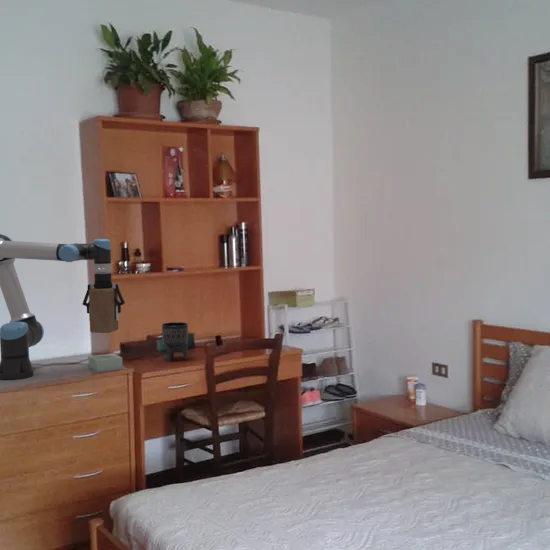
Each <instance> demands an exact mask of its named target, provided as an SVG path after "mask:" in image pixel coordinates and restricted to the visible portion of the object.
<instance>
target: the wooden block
mask: <svg viewBox="0 0 550 550" xmlns="http://www.w3.org/2000/svg"><path fill="white" fill-rule="evenodd" d="M114 296H115V297H116V298H117V299H118V300H119V296H118V294H117V292H116V289H115V288H114V287H112V288H106V289H105V288H101V289H97V288H94V287H93V288H92V289H90V290H89V297H88V302H89V305H90V321H89V329H90V332H91V333H94V334H95V333H96V334H111V333H114V332H115V331H118V330H119V320H116V306H118V305H117V304H116V302H115V301H114Z"/></svg>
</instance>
